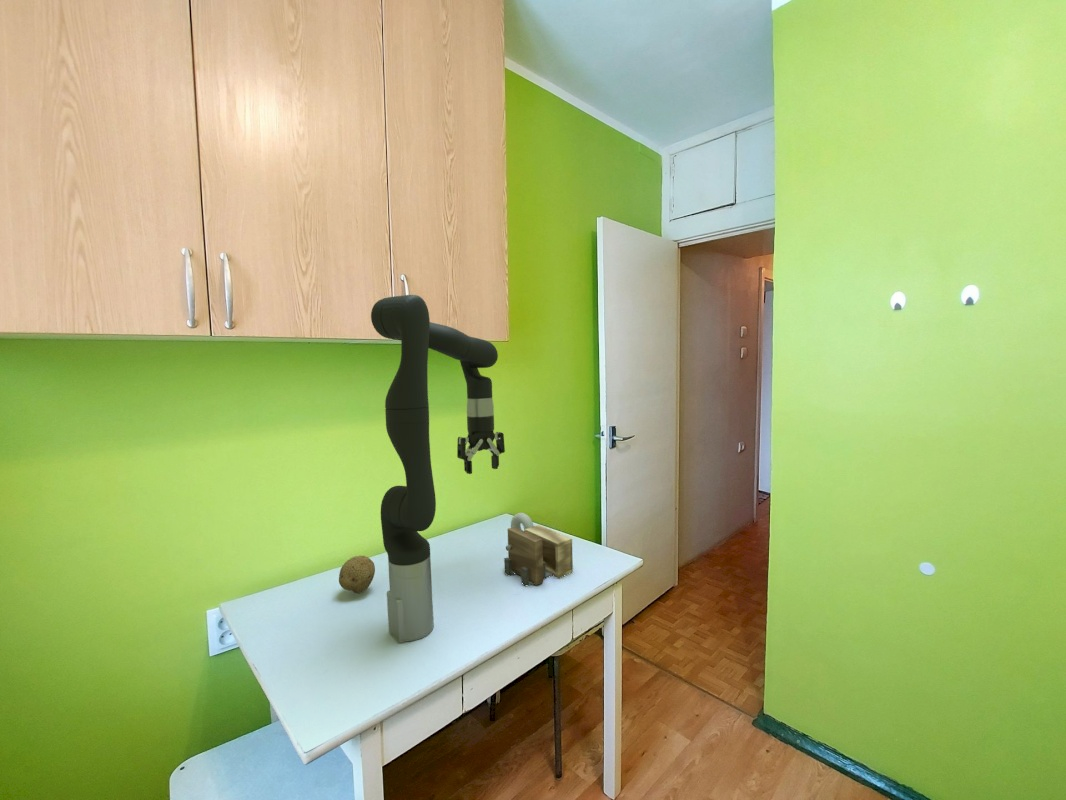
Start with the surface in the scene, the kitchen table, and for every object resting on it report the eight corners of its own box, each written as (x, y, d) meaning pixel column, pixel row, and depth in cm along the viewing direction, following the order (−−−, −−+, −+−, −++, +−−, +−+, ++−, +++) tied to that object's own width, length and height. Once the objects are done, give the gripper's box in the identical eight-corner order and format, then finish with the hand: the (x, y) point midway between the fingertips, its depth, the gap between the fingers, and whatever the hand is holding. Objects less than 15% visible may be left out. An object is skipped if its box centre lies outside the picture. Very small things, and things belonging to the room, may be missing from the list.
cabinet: (531, 589, 123) (530, 553, 122) (499, 570, 135) (498, 537, 134) (572, 572, 132) (572, 538, 132) (539, 556, 144) (538, 524, 143)
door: (532, 586, 124) (530, 543, 123) (504, 570, 134) (503, 529, 133) (543, 582, 126) (542, 539, 125) (515, 566, 136) (514, 526, 135)
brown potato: (354, 605, 117) (351, 567, 117) (332, 596, 122) (330, 559, 121) (382, 589, 125) (380, 554, 124) (361, 582, 130) (359, 547, 129)
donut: (536, 544, 153) (536, 515, 153) (529, 547, 151) (528, 517, 150) (516, 536, 160) (515, 508, 160) (509, 539, 158) (508, 511, 157)
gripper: (464, 417, 122) (467, 477, 124) (508, 412, 131) (510, 469, 132) (451, 415, 128) (453, 473, 129) (494, 411, 137) (495, 465, 138)
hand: (482, 471), depth 131 cm, fingers open, 8 cm apart
